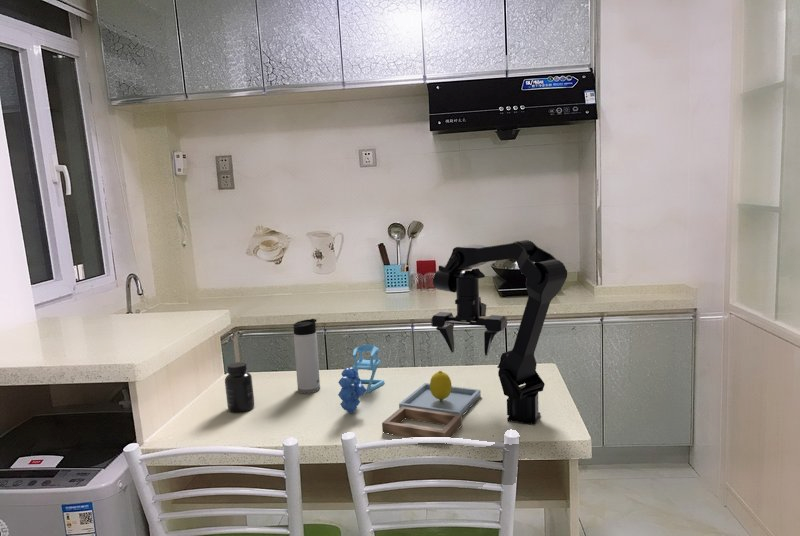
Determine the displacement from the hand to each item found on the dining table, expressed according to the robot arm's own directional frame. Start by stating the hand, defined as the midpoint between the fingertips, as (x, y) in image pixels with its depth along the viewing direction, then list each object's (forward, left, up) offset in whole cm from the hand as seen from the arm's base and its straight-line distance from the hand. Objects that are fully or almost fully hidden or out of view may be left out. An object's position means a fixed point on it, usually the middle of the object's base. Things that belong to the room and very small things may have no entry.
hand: (469, 353), depth 145 cm
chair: (+30, +2, -12) cm, 32 cm away
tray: (+6, +6, -12) cm, 15 cm away
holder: (+4, +22, -12) cm, 25 cm away
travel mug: (+45, +9, -12) cm, 47 cm away
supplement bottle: (+54, +27, -12) cm, 62 cm away
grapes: (+24, +19, -12) cm, 33 cm away
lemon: (+6, +6, -12) cm, 14 cm away
